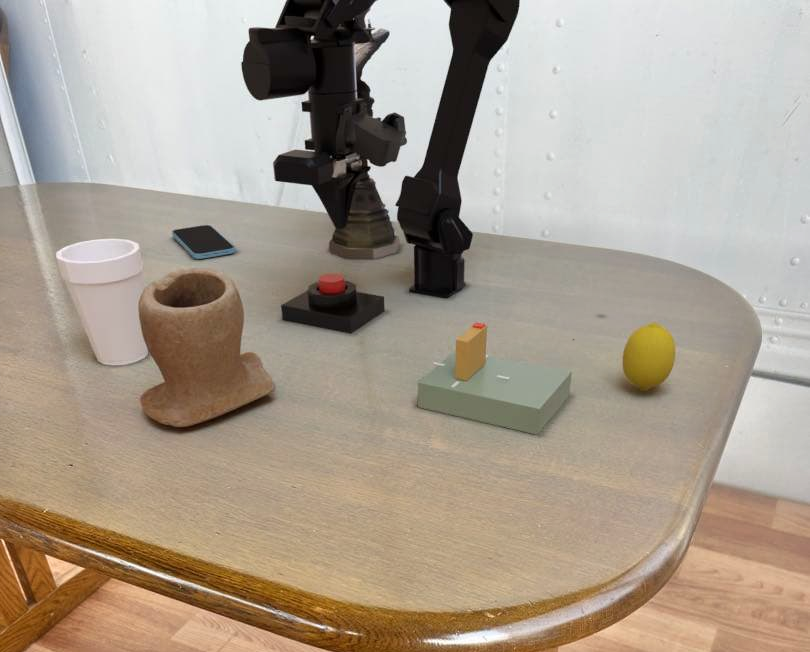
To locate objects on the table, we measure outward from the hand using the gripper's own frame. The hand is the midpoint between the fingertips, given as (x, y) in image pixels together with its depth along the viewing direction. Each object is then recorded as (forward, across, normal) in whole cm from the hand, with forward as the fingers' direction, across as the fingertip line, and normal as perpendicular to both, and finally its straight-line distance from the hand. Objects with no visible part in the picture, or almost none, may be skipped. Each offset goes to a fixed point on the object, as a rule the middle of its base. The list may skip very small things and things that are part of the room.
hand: (340, 228), depth 104 cm
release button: (+8, 0, +2) cm, 9 cm away
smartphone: (+12, +18, +40) cm, 46 cm away
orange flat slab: (+9, -14, -25) cm, 30 cm away
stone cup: (+12, -29, -1) cm, 31 cm away
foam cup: (+12, -23, +19) cm, 32 cm away
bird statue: (+12, +26, +14) cm, 32 cm away
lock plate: (+12, -14, -28) cm, 34 cm away
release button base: (+12, 0, +2) cm, 12 cm away
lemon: (+12, -4, -42) cm, 44 cm away
